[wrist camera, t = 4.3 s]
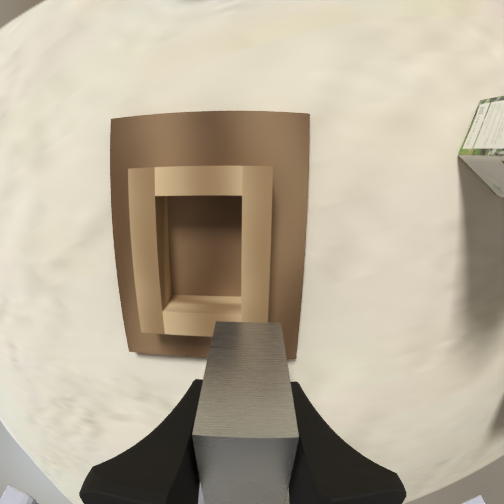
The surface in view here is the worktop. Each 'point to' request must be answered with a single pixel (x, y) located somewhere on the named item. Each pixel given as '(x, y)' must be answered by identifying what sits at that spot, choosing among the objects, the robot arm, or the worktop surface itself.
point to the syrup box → (487, 144)
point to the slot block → (208, 224)
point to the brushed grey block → (245, 417)
